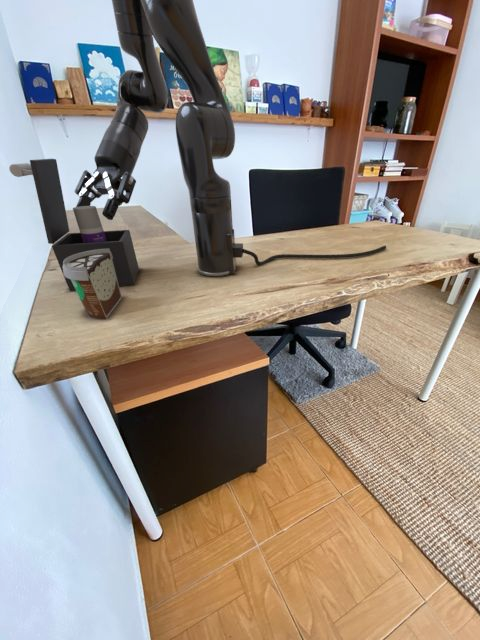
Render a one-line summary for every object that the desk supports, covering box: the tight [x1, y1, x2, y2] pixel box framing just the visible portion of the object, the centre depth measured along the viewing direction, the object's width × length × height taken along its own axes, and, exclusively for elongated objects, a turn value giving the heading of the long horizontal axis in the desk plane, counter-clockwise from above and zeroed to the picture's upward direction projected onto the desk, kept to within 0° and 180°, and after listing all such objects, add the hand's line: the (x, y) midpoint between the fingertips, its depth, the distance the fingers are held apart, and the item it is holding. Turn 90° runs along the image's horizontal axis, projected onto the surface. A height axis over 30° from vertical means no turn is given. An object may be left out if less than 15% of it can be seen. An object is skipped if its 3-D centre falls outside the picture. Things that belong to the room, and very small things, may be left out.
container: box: [72, 205, 107, 243], centre depth 67 cm, size 5×5×15 cm
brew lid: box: [8, 158, 70, 245], centre depth 60 cm, size 14×12×5 cm
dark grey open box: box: [51, 229, 140, 292], centre depth 68 cm, size 14×12×10 cm
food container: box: [62, 249, 123, 320], centre depth 55 cm, size 12×6×10 cm, turn 5°
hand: (93, 216), depth 64 cm, fingers open, 8 cm apart
